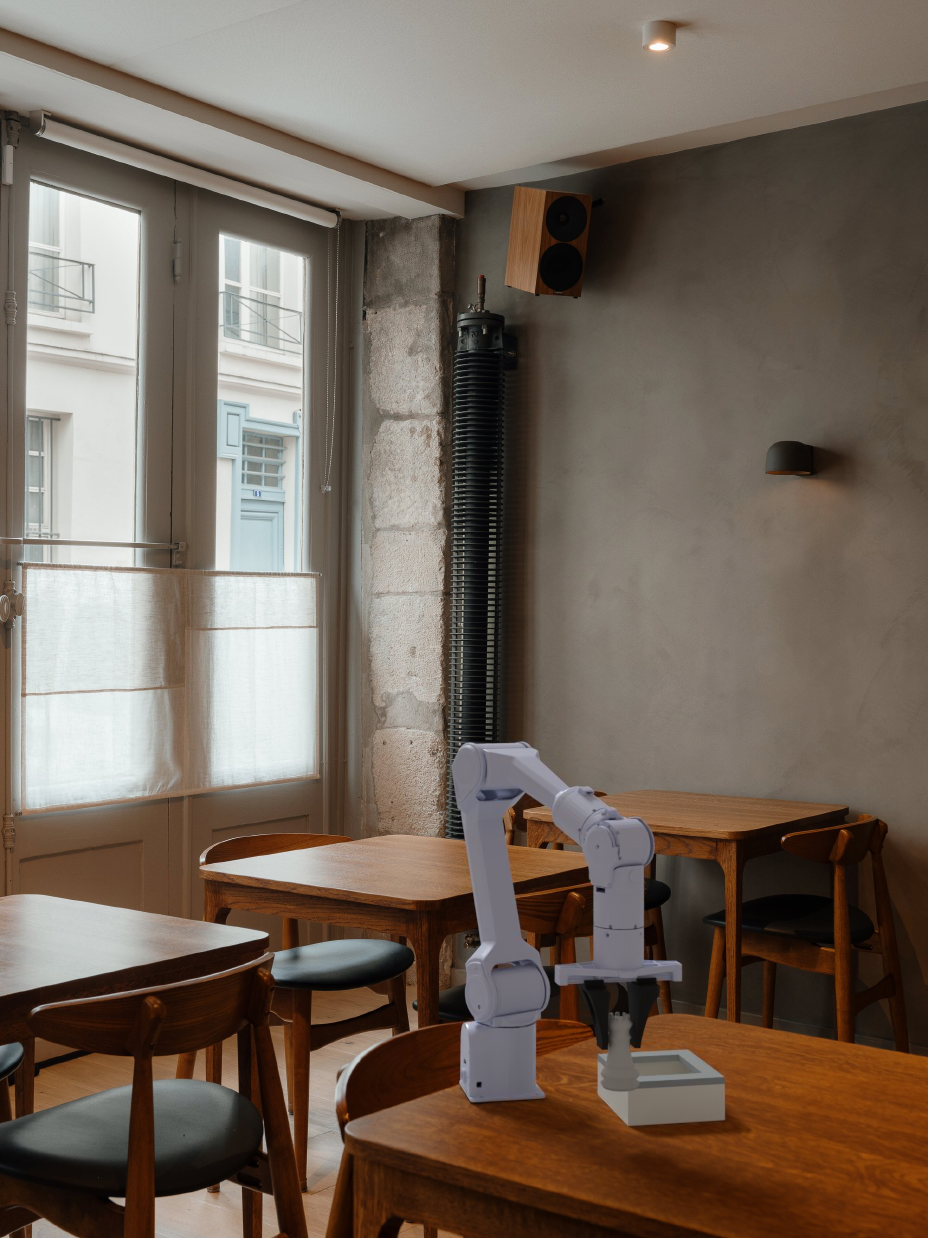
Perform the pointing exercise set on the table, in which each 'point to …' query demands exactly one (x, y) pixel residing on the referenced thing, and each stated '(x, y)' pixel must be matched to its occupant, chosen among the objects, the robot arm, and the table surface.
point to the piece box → (668, 1090)
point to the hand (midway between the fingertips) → (618, 1047)
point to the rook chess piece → (619, 1056)
